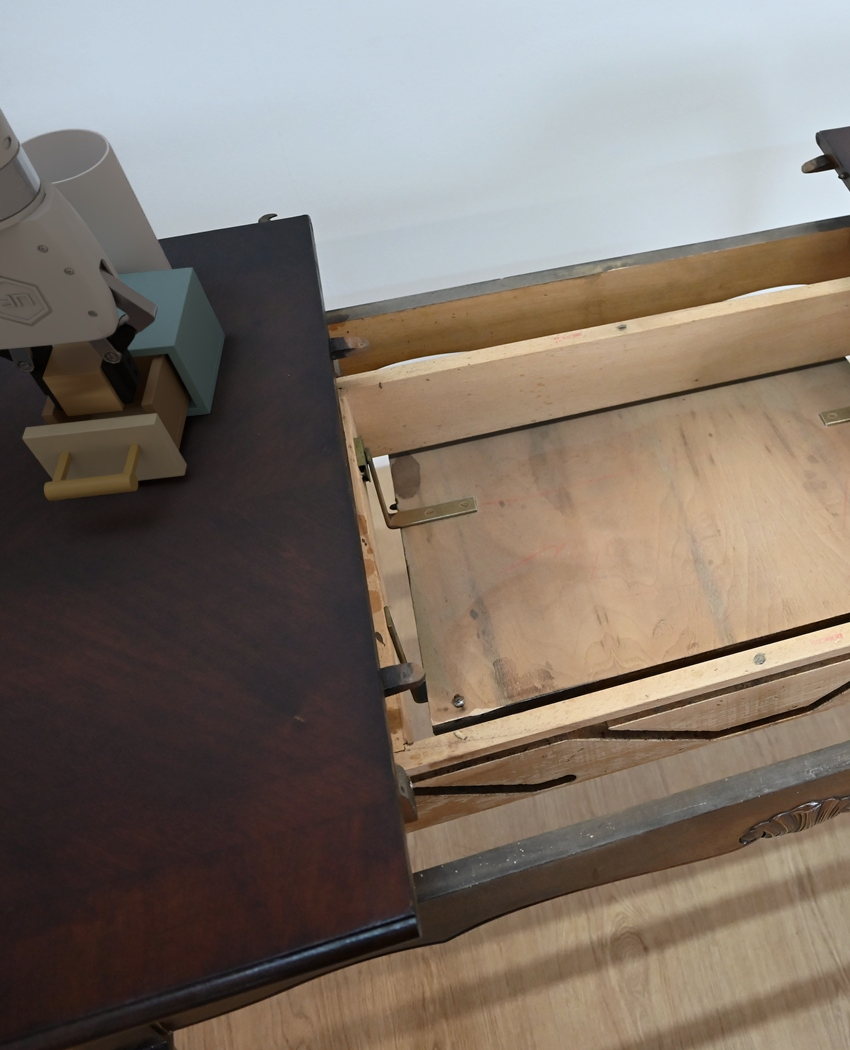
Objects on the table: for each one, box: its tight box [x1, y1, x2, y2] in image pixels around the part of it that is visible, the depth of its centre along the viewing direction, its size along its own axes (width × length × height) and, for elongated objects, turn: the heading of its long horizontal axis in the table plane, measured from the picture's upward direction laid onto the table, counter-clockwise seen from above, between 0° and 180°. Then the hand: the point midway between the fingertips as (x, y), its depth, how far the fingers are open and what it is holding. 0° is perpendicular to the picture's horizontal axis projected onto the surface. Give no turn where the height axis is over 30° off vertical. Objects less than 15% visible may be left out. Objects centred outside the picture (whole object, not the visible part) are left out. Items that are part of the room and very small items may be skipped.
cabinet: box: [52, 266, 226, 417], centre depth 86 cm, size 10×11×8 cm
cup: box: [20, 128, 173, 274], centre depth 89 cm, size 8×8×16 cm
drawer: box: [21, 354, 190, 502], centre depth 80 cm, size 13×9×6 cm
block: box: [43, 341, 124, 416], centre depth 78 cm, size 4×4×4 cm
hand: (99, 392), depth 79 cm, fingers closed on block, 3 cm apart
